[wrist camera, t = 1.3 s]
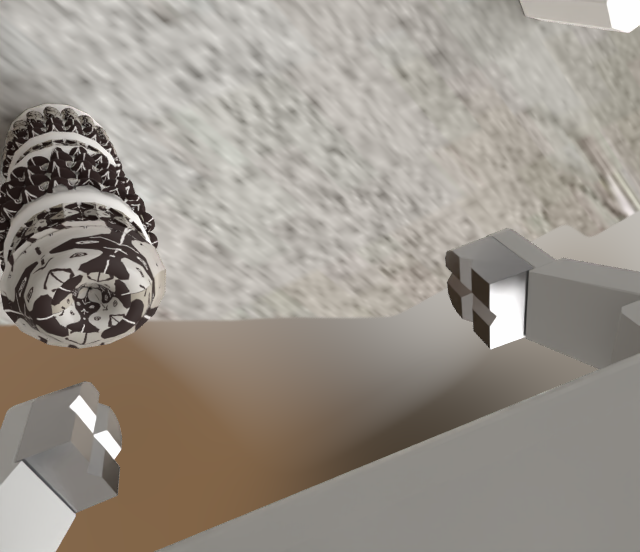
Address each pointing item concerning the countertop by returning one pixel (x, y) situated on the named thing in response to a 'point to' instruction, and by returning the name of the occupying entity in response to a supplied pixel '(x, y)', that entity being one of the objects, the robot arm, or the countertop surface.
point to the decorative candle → (73, 233)
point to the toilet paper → (586, 13)
